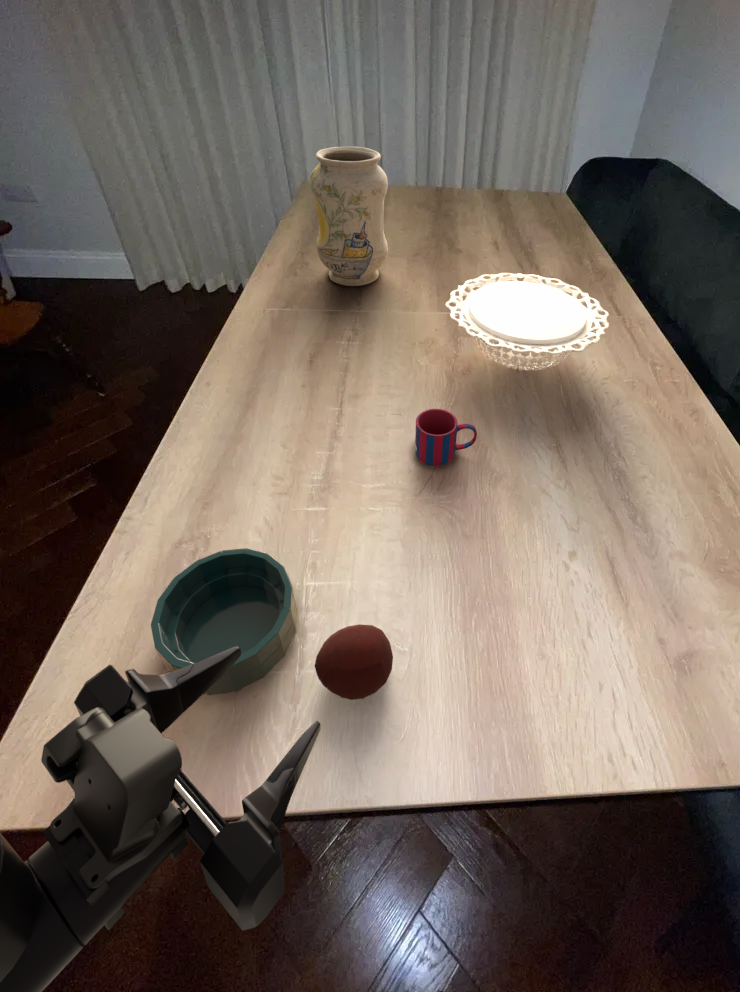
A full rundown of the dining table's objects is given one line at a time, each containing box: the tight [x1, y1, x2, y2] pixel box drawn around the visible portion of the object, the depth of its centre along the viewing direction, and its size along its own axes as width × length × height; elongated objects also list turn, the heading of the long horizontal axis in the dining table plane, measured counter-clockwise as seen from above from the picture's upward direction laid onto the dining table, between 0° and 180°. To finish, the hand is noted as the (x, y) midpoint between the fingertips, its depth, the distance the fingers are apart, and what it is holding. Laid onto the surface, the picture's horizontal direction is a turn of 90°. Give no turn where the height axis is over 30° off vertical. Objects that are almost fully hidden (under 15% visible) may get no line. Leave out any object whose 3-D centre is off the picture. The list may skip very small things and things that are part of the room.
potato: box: [314, 623, 394, 701], centre depth 58 cm, size 7×8×7 cm
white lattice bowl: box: [444, 272, 610, 372], centre depth 107 cm, size 32×32×13 cm
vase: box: [309, 145, 389, 287], centre depth 129 cm, size 18×18×30 cm
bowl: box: [150, 547, 299, 696], centre depth 61 cm, size 15×15×6 cm
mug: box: [414, 408, 478, 467], centre depth 86 cm, size 7×10×7 cm
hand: (277, 685), depth 41 cm, fingers open, 9 cm apart
